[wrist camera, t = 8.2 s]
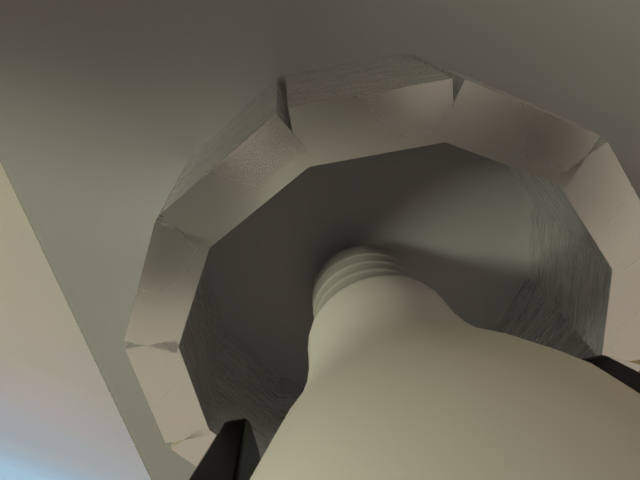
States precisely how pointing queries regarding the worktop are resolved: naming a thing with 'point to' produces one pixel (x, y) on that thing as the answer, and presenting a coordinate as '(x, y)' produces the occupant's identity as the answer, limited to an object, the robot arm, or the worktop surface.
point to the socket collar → (360, 141)
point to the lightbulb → (440, 393)
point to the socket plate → (307, 188)
